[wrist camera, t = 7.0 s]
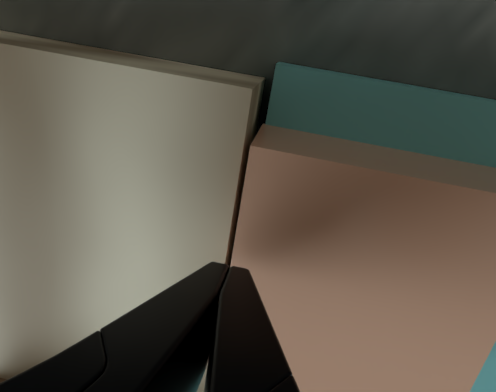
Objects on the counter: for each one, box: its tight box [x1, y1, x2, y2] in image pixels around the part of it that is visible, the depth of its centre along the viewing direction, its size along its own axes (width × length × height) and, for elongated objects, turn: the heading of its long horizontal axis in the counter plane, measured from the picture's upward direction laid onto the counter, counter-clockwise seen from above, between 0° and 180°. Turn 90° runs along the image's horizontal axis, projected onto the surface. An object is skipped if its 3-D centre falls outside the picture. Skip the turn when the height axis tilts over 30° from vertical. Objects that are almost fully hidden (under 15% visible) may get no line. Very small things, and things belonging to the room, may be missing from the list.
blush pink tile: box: [230, 124, 496, 392], centre depth 11 cm, size 6×6×2 cm
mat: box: [265, 62, 496, 392], centre depth 14 cm, size 10×19×1 cm, turn 171°
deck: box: [0, 30, 265, 392], centre depth 14 cm, size 12×18×3 cm, turn 171°
